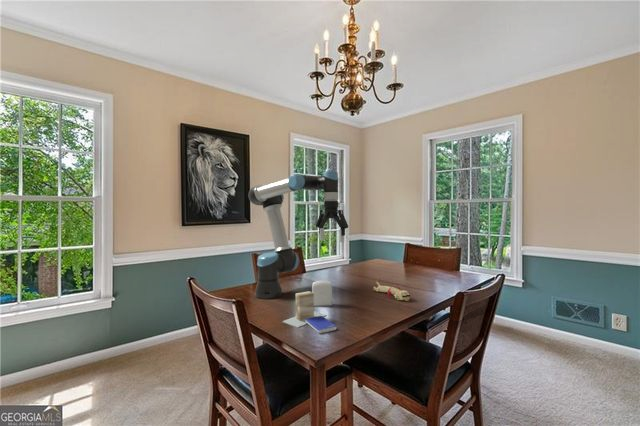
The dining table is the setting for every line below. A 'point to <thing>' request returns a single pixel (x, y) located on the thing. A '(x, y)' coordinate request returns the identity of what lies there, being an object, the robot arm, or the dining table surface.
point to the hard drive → (320, 324)
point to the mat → (297, 323)
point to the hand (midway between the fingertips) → (331, 241)
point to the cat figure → (392, 291)
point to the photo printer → (322, 293)
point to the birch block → (304, 305)
